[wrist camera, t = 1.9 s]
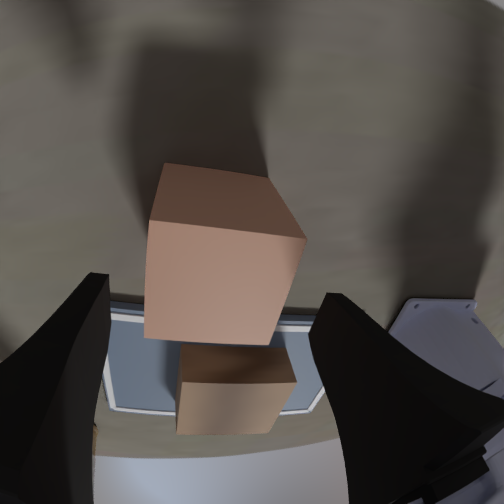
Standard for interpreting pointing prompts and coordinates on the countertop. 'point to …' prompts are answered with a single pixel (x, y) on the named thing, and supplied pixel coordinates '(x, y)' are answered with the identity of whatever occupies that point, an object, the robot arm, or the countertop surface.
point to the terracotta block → (218, 257)
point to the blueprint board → (167, 362)
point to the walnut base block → (231, 389)
